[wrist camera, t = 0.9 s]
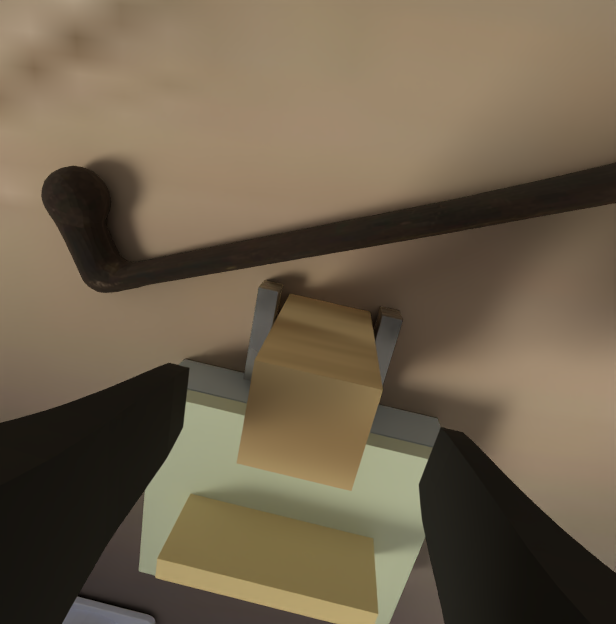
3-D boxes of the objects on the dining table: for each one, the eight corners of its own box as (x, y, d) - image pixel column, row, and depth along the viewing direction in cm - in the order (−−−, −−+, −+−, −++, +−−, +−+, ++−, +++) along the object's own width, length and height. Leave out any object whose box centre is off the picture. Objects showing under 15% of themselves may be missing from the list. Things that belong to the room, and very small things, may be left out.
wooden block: (350, 382, 17) (351, 491, 11) (275, 365, 17) (236, 463, 11) (370, 311, 16) (382, 389, 10) (289, 293, 16) (254, 359, 10)
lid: (383, 615, 19) (391, 718, 15) (146, 556, 19) (100, 642, 15) (449, 451, 15) (480, 533, 12) (161, 383, 16) (106, 442, 12)
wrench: (91, 170, 18) (979, -55, 11) (131, 275, 19) (916, 139, 13) (-15, 177, 13) (1453, -217, 6) (51, 315, 15) (1245, 130, 8)
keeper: (373, 395, 17) (375, 410, 16) (250, 366, 18) (243, 379, 16) (399, 310, 16) (402, 320, 15) (265, 280, 16) (258, 287, 15)
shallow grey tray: (379, 570, 21) (383, 613, 19) (167, 517, 21) (148, 553, 19) (437, 418, 17) (449, 450, 15) (184, 358, 18) (162, 382, 16)
